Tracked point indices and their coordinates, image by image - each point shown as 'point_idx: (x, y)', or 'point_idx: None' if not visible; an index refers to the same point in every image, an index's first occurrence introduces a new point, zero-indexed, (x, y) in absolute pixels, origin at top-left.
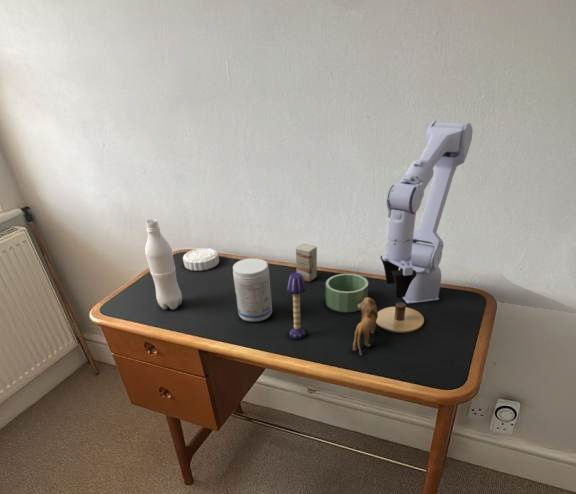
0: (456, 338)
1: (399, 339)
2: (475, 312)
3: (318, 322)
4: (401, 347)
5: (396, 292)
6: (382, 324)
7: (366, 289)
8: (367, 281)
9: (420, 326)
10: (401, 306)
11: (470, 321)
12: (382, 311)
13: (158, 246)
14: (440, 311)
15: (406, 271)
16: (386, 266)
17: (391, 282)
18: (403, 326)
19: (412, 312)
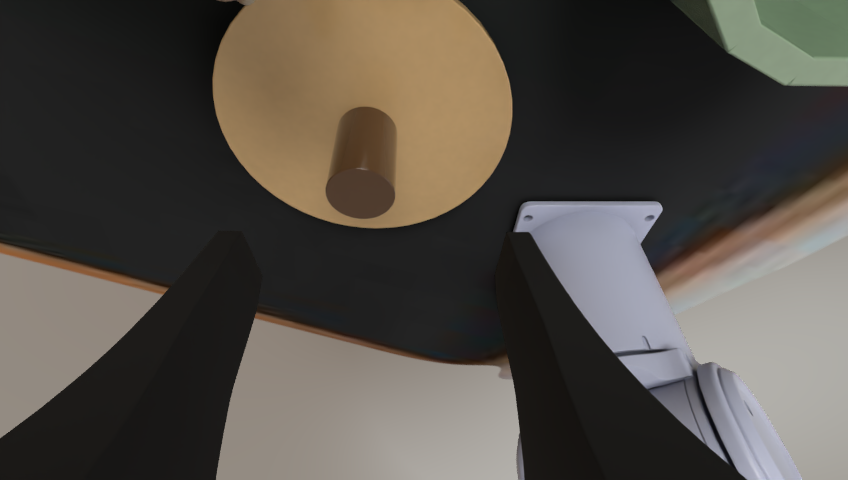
0: None
1: (162, 59)
2: (388, 335)
3: None
4: (61, 40)
5: (182, 273)
6: (298, 2)
7: (705, 23)
8: (809, 82)
9: (277, 195)
10: (335, 193)
11: (335, 316)
12: (477, 62)
13: None
14: (421, 276)
15: None
16: (565, 411)
17: (502, 265)
18: (270, 125)
19: (412, 203)
